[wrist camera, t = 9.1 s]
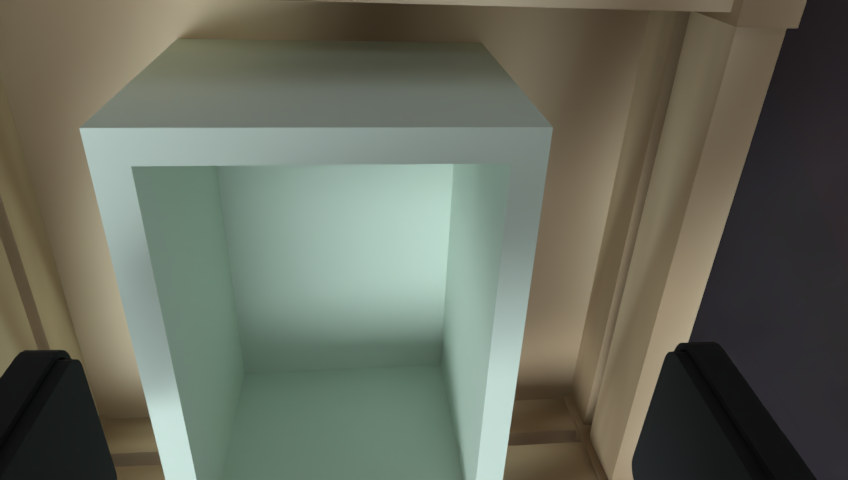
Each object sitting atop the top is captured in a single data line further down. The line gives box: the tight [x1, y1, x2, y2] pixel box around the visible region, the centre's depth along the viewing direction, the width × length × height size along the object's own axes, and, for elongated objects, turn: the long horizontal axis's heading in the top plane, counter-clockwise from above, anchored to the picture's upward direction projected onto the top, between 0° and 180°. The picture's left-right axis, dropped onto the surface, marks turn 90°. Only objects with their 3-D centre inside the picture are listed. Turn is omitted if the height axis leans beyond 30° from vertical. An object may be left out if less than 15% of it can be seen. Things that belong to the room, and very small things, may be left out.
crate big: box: [0, 0, 807, 480], centre depth 16 cm, size 17×15×5 cm
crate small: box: [79, 39, 553, 480], centre depth 14 cm, size 7×10×6 cm
